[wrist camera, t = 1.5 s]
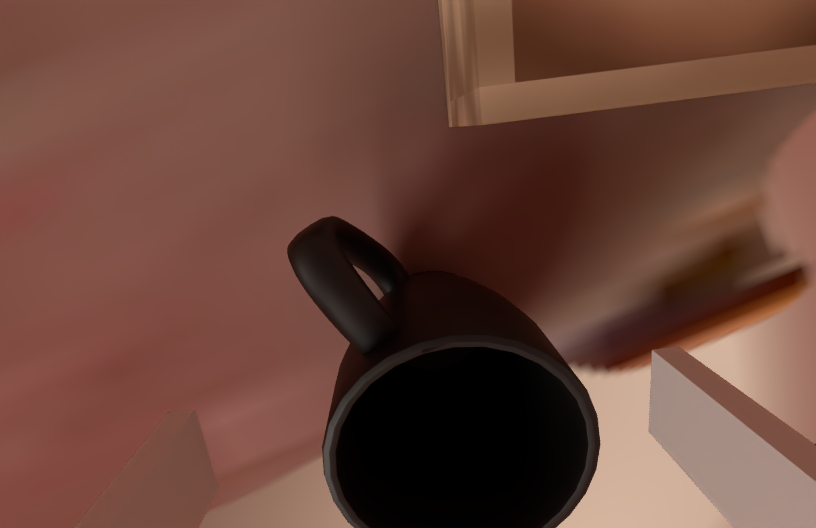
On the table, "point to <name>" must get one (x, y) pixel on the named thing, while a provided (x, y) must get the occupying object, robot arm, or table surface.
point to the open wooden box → (616, 53)
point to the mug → (442, 397)
